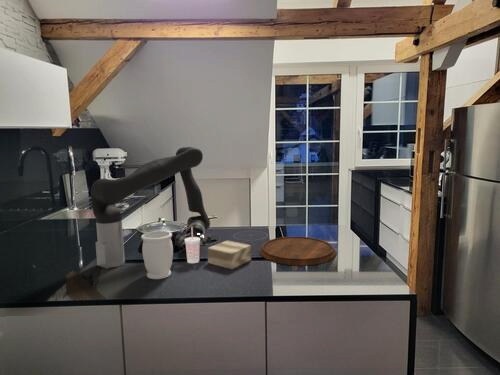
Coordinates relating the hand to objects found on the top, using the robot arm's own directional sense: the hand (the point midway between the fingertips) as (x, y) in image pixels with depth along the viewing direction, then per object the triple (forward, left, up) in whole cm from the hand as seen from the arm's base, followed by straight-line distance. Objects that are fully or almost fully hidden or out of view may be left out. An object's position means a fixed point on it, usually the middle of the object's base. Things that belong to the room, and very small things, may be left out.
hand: (192, 244), depth 144 cm
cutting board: (+34, -27, -8) cm, 44 cm away
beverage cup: (+1, +1, -8) cm, 8 cm away
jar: (-16, +1, -8) cm, 17 cm away
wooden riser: (+9, -11, -8) cm, 16 cm away
